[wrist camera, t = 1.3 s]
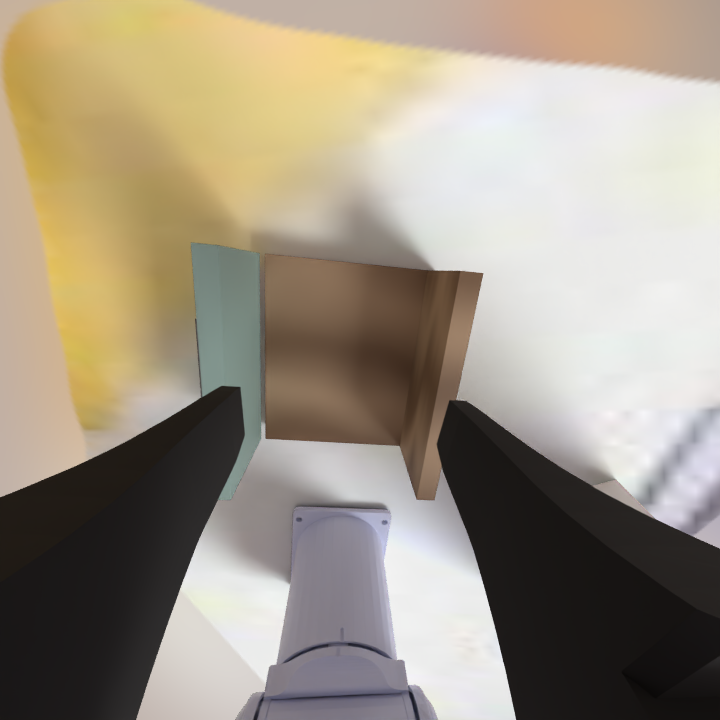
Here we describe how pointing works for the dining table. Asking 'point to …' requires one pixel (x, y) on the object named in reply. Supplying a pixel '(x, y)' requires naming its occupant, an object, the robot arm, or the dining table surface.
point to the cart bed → (365, 355)
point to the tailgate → (230, 336)
